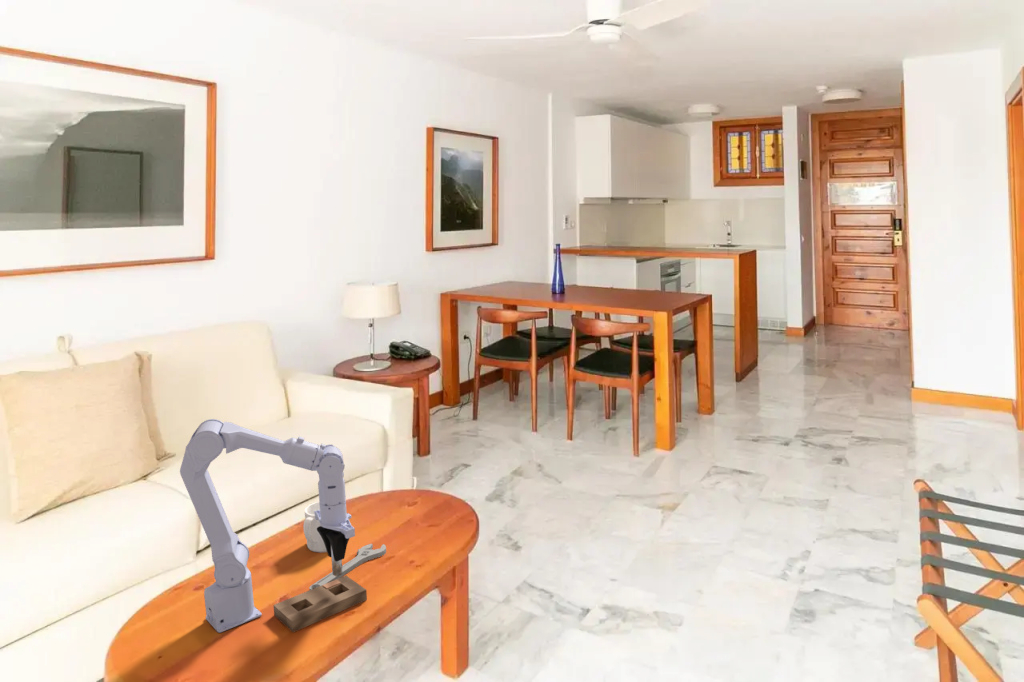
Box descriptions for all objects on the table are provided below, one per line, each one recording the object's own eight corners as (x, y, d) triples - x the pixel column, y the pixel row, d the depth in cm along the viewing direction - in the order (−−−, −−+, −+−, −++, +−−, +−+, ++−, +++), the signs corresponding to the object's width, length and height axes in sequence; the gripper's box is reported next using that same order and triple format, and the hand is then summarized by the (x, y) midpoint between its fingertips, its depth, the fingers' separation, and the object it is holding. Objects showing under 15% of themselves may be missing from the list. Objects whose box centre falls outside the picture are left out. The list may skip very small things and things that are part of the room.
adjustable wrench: (315, 597, 162) (314, 590, 161) (297, 589, 165) (296, 582, 165) (390, 552, 182) (389, 546, 182) (372, 546, 186) (372, 540, 185)
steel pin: (335, 576, 157) (333, 543, 155) (330, 573, 158) (328, 540, 157) (344, 573, 158) (342, 540, 157) (339, 570, 160) (337, 537, 158)
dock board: (292, 632, 147) (292, 620, 146) (274, 615, 153) (273, 604, 153) (366, 599, 159) (366, 588, 159) (346, 585, 165) (346, 574, 165)
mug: (323, 533, 193) (321, 498, 192) (353, 539, 189) (351, 503, 188) (292, 553, 182) (289, 516, 180) (323, 560, 178) (320, 522, 176)
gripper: (365, 504, 152) (369, 562, 155) (332, 487, 163) (336, 541, 165) (336, 514, 148) (340, 573, 150) (304, 495, 158) (308, 551, 161)
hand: (336, 557), depth 157 cm, fingers closed on steel pin, 2 cm apart
